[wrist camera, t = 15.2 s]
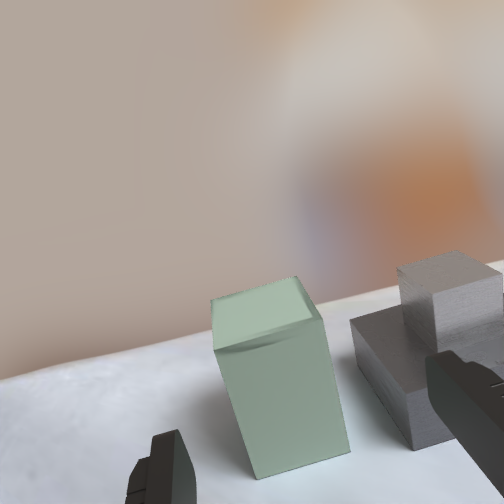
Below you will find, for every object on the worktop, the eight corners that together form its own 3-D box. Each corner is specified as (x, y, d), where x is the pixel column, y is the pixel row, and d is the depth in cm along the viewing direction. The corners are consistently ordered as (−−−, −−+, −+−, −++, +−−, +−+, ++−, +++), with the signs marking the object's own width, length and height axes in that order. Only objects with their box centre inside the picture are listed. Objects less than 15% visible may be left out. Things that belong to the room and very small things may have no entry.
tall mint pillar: (256, 479, 23) (213, 349, 20) (246, 411, 28) (210, 300, 25) (350, 451, 23) (322, 318, 20) (322, 388, 28) (296, 275, 25)
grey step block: (413, 450, 22) (397, 329, 19) (357, 365, 29) (340, 269, 27) (581, 398, 22) (588, 271, 20) (484, 327, 30) (479, 228, 27)
